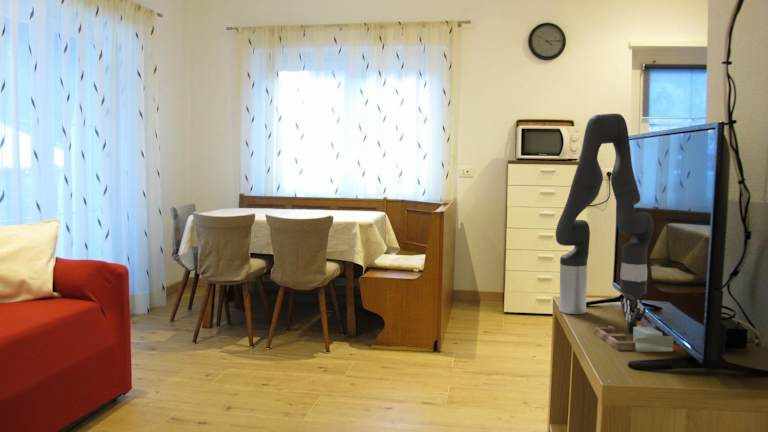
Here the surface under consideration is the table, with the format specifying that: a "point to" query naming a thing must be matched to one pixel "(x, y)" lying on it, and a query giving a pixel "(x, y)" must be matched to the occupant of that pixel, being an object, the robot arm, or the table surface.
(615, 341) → the trap lane
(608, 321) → the table surface
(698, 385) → the table surface
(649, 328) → the blue grey block
